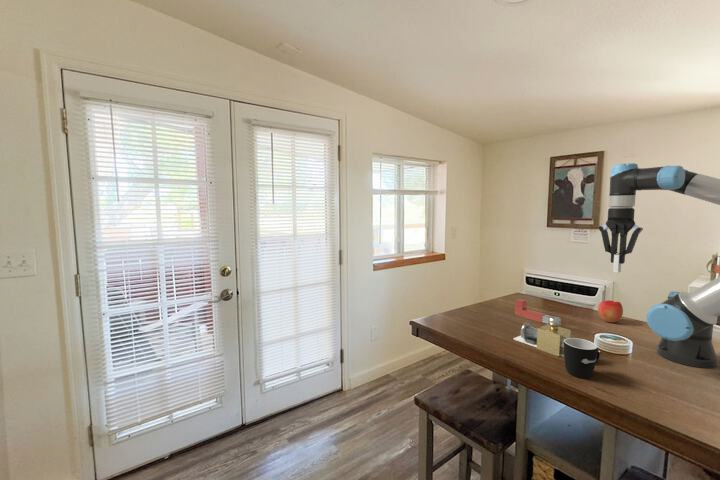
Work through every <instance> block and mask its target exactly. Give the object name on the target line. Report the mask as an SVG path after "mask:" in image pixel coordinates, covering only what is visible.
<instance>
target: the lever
mask: <svg viewBox="0 0 720 480" xmlns="http://www.w3.org/2000/svg"><path fill="white" fill-rule="evenodd" d="M514 302H515V303H514V315H516V316H519V317H522V318H526V319H529V320H532V321H536V322H540V323H544V324H546V325H547V324H549V325H551V326H558V327H561V325H562V322H561V321H562V318H561V317H558V316H554V315H553V316H552V315H549V314H546V313H544V312H540V311H536V310H533V309H529V308H527V307H528V306H527V305H528V301H527V299H524V298H523V299H522V298H518V299H515V301H514Z"/></svg>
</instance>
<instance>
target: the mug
mask: <svg viewBox="0 0 720 480" xmlns="http://www.w3.org/2000/svg"><path fill="white" fill-rule="evenodd" d="M598 348H599V347H598V345H597V343H595V342H592V341H590V340H588V339H583V338H576V337H570V338H567V339H565V340H564V357H563V358H564V359H563V361H564V365H565V366H564V367H565V370H566V372H567V373H568V374H569V375H570V376H572V377H576V378H579V379H589V378H591V377H592V375H594V371H595V368H596V364H597V363H598V362H599V359H600V357H601V356H600V354H601V353H599V351H600V350H599V349H598Z"/></svg>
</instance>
